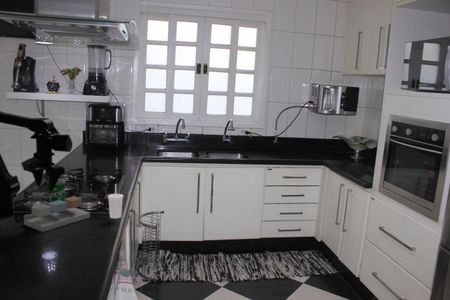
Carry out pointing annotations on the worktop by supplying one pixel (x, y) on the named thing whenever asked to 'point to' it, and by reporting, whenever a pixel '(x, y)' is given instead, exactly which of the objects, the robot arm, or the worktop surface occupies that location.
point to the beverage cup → (115, 204)
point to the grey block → (41, 210)
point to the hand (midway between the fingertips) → (44, 188)
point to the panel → (55, 219)
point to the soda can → (56, 191)
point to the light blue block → (58, 206)
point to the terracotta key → (73, 202)
